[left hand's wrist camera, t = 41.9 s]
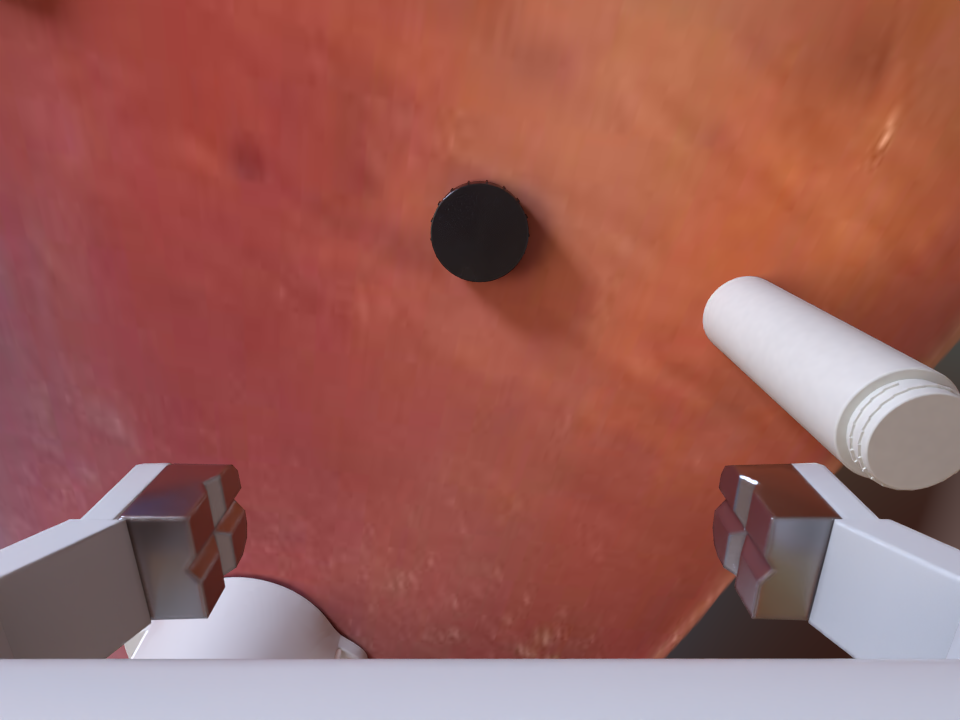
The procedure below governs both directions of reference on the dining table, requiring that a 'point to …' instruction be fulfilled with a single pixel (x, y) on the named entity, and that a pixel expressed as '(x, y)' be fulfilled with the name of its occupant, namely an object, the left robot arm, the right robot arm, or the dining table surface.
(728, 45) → the dining table surface
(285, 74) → the dining table surface
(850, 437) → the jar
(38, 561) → the left robot arm
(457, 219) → the lid
